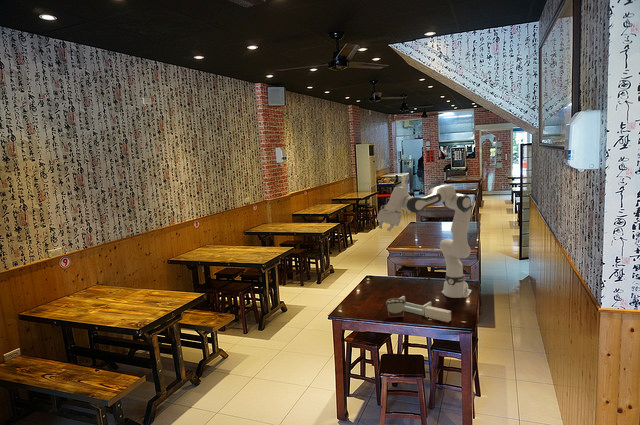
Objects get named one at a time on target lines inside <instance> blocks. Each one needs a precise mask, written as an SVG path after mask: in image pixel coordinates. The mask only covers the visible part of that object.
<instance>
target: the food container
mask: <svg viewBox="0 0 640 425" xmlns="http://www.w3.org/2000/svg"><path fill="white" fill-rule="evenodd" d="M399 298H400V297H398V298H397V297H396V298H395V297H392V298H389V299H387V300H386V302H385V305H386V306H387V315H388V318H396V317H397V318H398V317H400V318H401V317H404V315H405V311H404V307H405V304H406V302H407V301H406V299H405V300H403V299H399Z"/></svg>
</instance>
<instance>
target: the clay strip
mask: <svg viewBox="0 0 640 425" xmlns="http://www.w3.org/2000/svg"><path fill="white" fill-rule="evenodd" d="M424 317H425V318H428V317H429V319H433V320H438V321H441V322H445V323H449V322H451V321H452V310H450V309H449V310H448V309H445V308H439V307H436V306H435V307H434V306H432V305H431V306H427V307H425V315H424Z"/></svg>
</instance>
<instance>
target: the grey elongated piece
mask: <svg viewBox="0 0 640 425" xmlns="http://www.w3.org/2000/svg"><path fill="white" fill-rule="evenodd" d="M398 298H399V299H403V300H405V302H406V304H405V307H404V312H408V313H411V314H416V315H419V316H424V317H425V307H427V306H431V307H432V301H428V302H427V303H425V304H423V305H421V304H417V303H416V304H415V303H412V302H407V301H406V296H405V295H402V296H401V297H398Z"/></svg>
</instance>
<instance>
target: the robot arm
mask: <svg viewBox="0 0 640 425" xmlns="http://www.w3.org/2000/svg"><path fill="white" fill-rule="evenodd" d="M440 203H442V205H443V206H444V207H445V208H446V209H447V208H448V209H450V210H454V216H453V219H452V223H451V226H450V227H451V228H450V232H451V234H452V236H453V237H452V238H446V239H442V240H441V241H440V243H439V250H440V251H441V253H442V255H443V258H444V260H445V266H446V268H445V270H446V272H445V281H444V282H443V290H441V293H442V294H443V295H444V296H445V297H448V298H451V299H452V298H453V299H457V298H458V299H461V298H468V297H469V296H470V295H471V293H472V289H469V284H468V283H467V282H466V281H465V278H466V274H464V268H463V267H464V266H463V262H462V261H461V259H467V258H469V256H470V255H471V253H472V252H471V250H472V249H471V247H470V245H469V243H468V233H469V229H470V228H469V226H470V223H471V216H472V210H471V206H472V199H471V197H470V196H469V195H467V194H465V193H463V194H462V193H457V192H456V188H455V187H454V186H453V185H451V184H442V185H438V186H434V187H432V188H430V189H429V190H428V192H427V195H426V196H424V197H419V196H411V195H410V193H409V192H408V188H406V187H404V186H399V185H398V186H395V187H394V188H393V190H392V192H391V194H390V197H389V200H388V202H387V204H384V205H381V206H380V209H379V211H378V214H377V216H376V220H377V221H379V223H378V229H381V230H383V224H388V225H389V227H387V229H386V231H387V232H391V230H392V229H394V227H399V225H400V224H401V219H402V215H403V214H402V212H401V209H402V210H403V211H405V212H410V213H414V214H419V213H420V212H422V211H423V210H424V209H426V208H427V207H431V206H432V205H436V204H440Z"/></svg>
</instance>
